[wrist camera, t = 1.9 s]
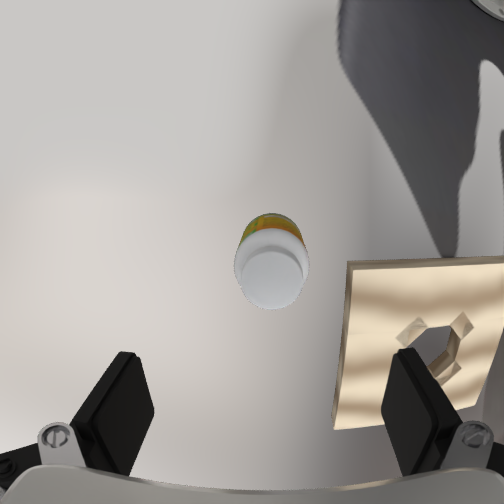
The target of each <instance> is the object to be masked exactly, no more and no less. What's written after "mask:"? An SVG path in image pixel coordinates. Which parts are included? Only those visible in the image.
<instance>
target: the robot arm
mask: <svg viewBox="0 0 504 504" xmlns="http://www.w3.org/2000/svg"><path fill="white" fill-rule="evenodd" d="M472 1H473V2H474V3H475V4H476V5H477V6H478V7H480V8H481V9H482V10H484V11H485V12H486V13H488V14H490V15H491V16H493V17H495V18H497V19H499V20H502V21H504V0H472ZM381 415H382V418H383V420H384V423H385V426H386V429H387V432H388V434H389V437H390V440H391V443H392V446H393V449H394V451H395V454H396V457H397V461H398V463H399V467H400V470H401V473H402V475H403V477H399V478H394V479H388V480H382V481H376V482H370V483H364V484H356V485H348V486H340V487H330V488H317V489H301V490H233V489H217V488H205V487H195V486H186V485H177V484H170V483H163V482H157V481H151V480H146V479H140V478H135V477H129V475H130V472H131V469H132V467H133V465H134V462H135V460H136V458H137V455H138V453H139V450H140V448H141V445H142V443H143V441H144V438H145V436H146V433H147V431H148V429H149V426H150V424H151V421H152V419H153V417H154V407H153V403H152V400H151V396H150V393H149V389H148V385H147V382H146V378H145V374H144V371H143V367H142V363H141V359H140V358H139V357H137V356H136V354H135V353H132V352H122V351H121V352H119V353H118V354H117V356H116V357H115V359H114V360H113V361H112V363H111V364H110V366H109V367H108V368H107V370H106V371H105V373H104V374H103V375H102V377H101V378H100V380H99V381H98V383H97V384H96V386H95V387H94V388H93V390H92V391H91V393H90V394H89V396H88V397H87V399H86V400H85V402H84V403H83V404H82V406H81V407H80V409H79V410H78V412H77V413H76V415H75V416H74V418H73V419H72V421H71V423H70V424H69V425H68V424H66V423H62V422H56V423H51V424H49V425H46V426H45V427H44V428H42V430H41V431H40V432H39V434H38V443H35V444H32V445H29V446H26V447H23V448H19V449H16V450H12V451H9V452H5V453H2V454H0V504H504V445H502V444H499V443H496V442H493V440H494V435H493V432H492V430H491V429H490V427H489V426H487V425H486V424H485V423H482V422H480V421H467V422H464V423H463V422H462V420H461V419H460V417H459V415H458V414H457V412H456V410H455V409H454V407H453V405H452V404H451V402H450V400H449V399H448V397H447V395H446V394H445V392H444V391H443V389H442V387H441V386H440V384H439V383H438V381H437V380H436V379H435V378H433V376H432V374H431V373H430V371H429V370H428V368H427V367H426V365H425V364H424V362H423V361H422V359H421V358H420V356H419V354H418V353H417V352H416V350H415V349H414V348H404V349H399V350H398V351H397V353H395V354H394V355H393V357H392V362H391V367H390V371H389V376H388V380H387V384H386V389H385V393H384V397H383V401H382V405H381Z"/></svg>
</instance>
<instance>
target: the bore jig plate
mask: <svg viewBox="0 0 504 504" xmlns="http://www.w3.org/2000/svg"><path fill="white" fill-rule="evenodd" d="M448 325H449V326H450V327H451V333H450V337H449V341H448V344H447V348H446V350H445V351H444V352H443V353H442V354H441V355H440V356H439V357H438V358H437V359H435V360H434V361H433V362H432V363H431V364H430V365H429V366H426V367H427V368H428V370H429V371H430V373H431V374H432V376H433V378H435V379H436V380H437V381H438V383H439V384H440V386H441V387H442V389H443V391H444V392H445V394H446V395H447V397H448V399H449V400H450V402H451V404H452V405H453V407H454V409H455V410H458V409H462V408H465V407H469V406H473V405H475V403H476V401H477V398H478V396H479V393H480V391H481V389H482V387H483V384H484V382H485V379H486V377H487V374H488V372H489V369H490V366H491V364H492V361H493V358H494V355H495V352H496V349H497V346H498V343H499V340H500V337H501V334H502V331H503V327H504V256H482V257H456V258H430V259H400V260H366V261H347V274H346V290H345V305H344V316H343V328H342V337H341V347H340V356H339V364H338V373H337V381H336V388H335V395H334V402H333V409H332V415H331V416H332V422H333V427H334V430H337V429H348V428H358V427H365V426H374V425H381V424H385V423H384V420H383V418H382V415H381V405H382V401H383V397H384V393H385V389H386V384H387V380H388V376H389V371H390V367H391V362H392V357H393V355H394V354H395V353H397V351H398V350H399V349H404V348H406V347H407V346H408V345H409V344H410V343H411V342H412V341H414V340H415V339H416V338H417V337H418V336H419V335H420V334H421V333H422V332H424V331H425V330H426V329H427V328H431V327H439V326H448Z"/></svg>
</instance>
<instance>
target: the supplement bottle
mask: <svg viewBox="0 0 504 504" xmlns="http://www.w3.org/2000/svg"><path fill="white" fill-rule="evenodd" d="M234 271H235V275H236V278H237V281H238V283H239V284H240V286H241V288H242V291H243V293H244V295H245V297H246V298H247V299H248V300H249V301H250V302H251V303H252V304H254V305H256V306H257V307H260V308H262V309H267V310H276V309H281V308H284V307H286V306H288V305H290V304H291V303H293V302H294V301H295V300H296V299H297V297H298V296H299V295H300V293H301V291H302V287H303V285H304V283H305V281H306V279H307V276H308V273H309V257H308V254H307V250H306V247H305V245H304V242H303V239H302V236H301V233H300V231H299V229H298V227H297V226H296V224H295V223H294V222H293V221H292V220H291V219H289V218H287V217H286V216H283V215H281V214H276V213H269V214H263V215H261V216H258V217H257V218H255V219H254V220H252V221H251V222H250V223H249V224H248V226H247V227H246V229H245V231H244V233H243V236H242V239H241V241H240V244H239V247H238V249H237V252H236V255H235V261H234Z"/></svg>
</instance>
